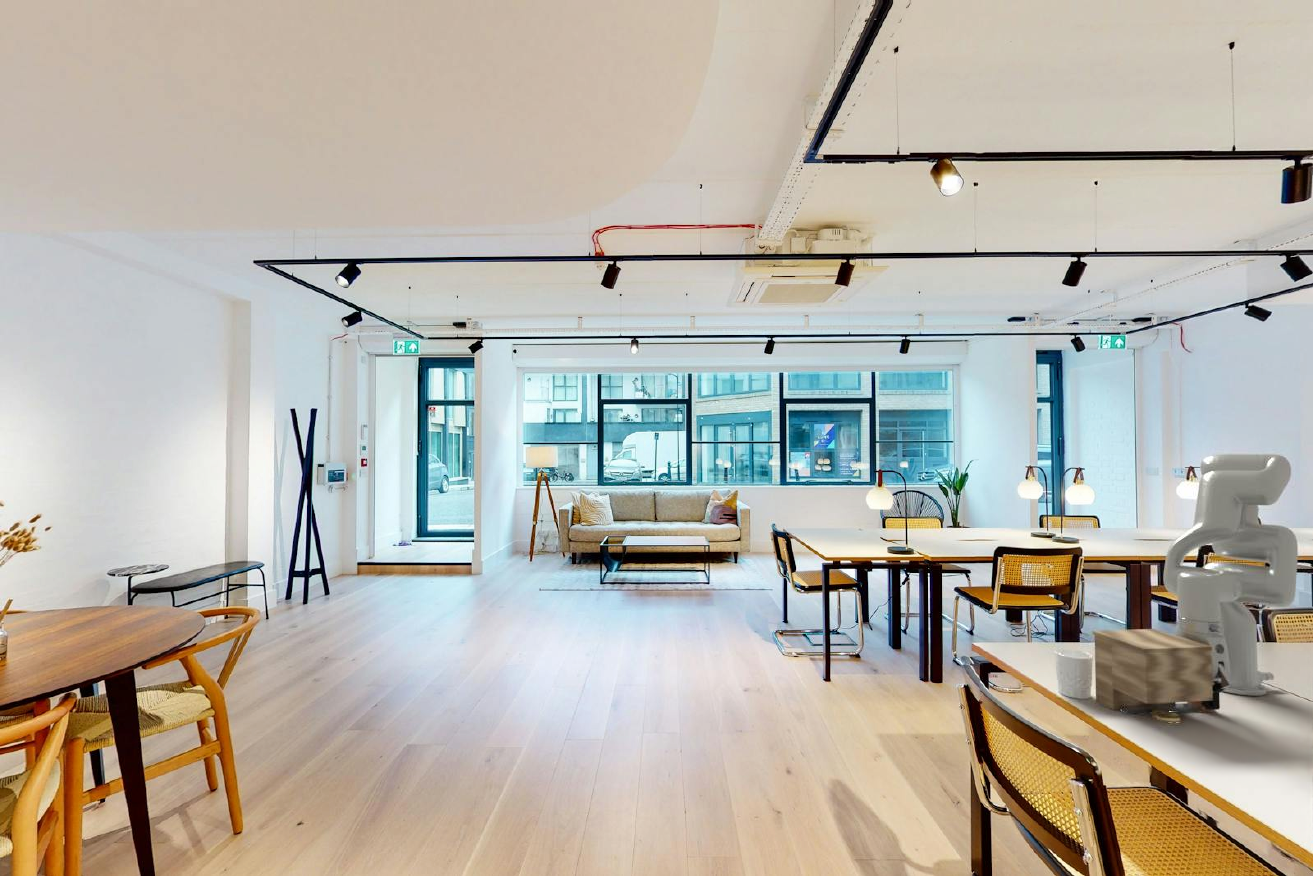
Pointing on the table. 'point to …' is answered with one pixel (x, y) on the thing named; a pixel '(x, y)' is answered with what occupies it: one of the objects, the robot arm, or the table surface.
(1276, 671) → the table surface
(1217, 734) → the table surface
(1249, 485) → the robot arm
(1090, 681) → the white cup
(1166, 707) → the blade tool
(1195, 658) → the oak bench cabinet
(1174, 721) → the brass token
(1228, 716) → the table surface
